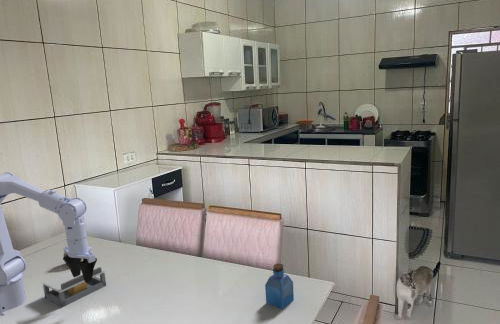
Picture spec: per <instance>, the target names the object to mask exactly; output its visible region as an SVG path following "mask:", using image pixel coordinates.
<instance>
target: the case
mask: <svg viewBox="0 0 500 324" xmlns="http://www.w3.org/2000/svg"><path fill="white" fill-rule="evenodd" d="M86 284H87V289H85V290H83V291H80V292H78V293H76V294H74V295H70V294H68V290H65V291H63V292H61V293H59V292H57V291H55V290H53V289H50V288H49V287H47V286H45V285H43V284H42V286H43V287H42V289H43V294H44V299H46V300H48V301H49V302H51V303H53V304H54V305H57V306H58V307H61V308H64V307H67V306H68V305H71V304H73V303H75V302H76V301H79V300H80V299H83V298H84V297H87V296H89V295H91V294H92V293H94V292H97V291H99V290H101V289H103V288H104V287H106V286H107V280H106V273H105V272H104V273H102V274H100V275H99V277H97V276H96V277H94V278H92V280H91V281H89V282H86Z"/></svg>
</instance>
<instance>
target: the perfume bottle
mask: <svg viewBox="0 0 500 324" xmlns="http://www.w3.org/2000/svg"><path fill="white" fill-rule="evenodd" d="M272 267H273V269H272V273H273V274H272V275H270V276H269V277H268V279H267V281H266V282H265V285H264V286H265V287H264V289H265V304H267V305H270V306H273V307H276V308H279V309H281V310H283V309H284V308H286V307H287V306H288V305H290V304H291V303H292V302H293V301H294V300H295V299H294V297H295V296H294V280H292V278H291V277H290V276H289V275H288V274H287V273H285V269H284V268H285V267H284V264H282V263H274V264H273V266H272Z"/></svg>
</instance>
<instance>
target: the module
mask: <svg viewBox="0 0 500 324" xmlns="http://www.w3.org/2000/svg"><path fill="white" fill-rule="evenodd" d="M85 289H87V284H86V282H83V283H81V284H78V285H76V286H74V287H72V288H70V289H68V294H70V295H74V294H76V293H78V292H80V291H83V290H85Z"/></svg>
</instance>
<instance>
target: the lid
mask: <svg viewBox="0 0 500 324" xmlns="http://www.w3.org/2000/svg"><path fill="white" fill-rule="evenodd" d="M102 273H105V270H103V269H102V267H100V266H99V267H96V266H94V270H93V277H92V278H94V277H97V276H100V274H102ZM83 282H85V281H84V278H83V274H82V271H81V274H80V275H79V276H77V277H73V275H72V273H71V271H70V270H69V271H67V272H65V273H62V274H60V275H57V276H55V277H53V278H51V279H48V280H46V281H44V282H42V286H43V285H45V286H47V287H49V289H50V290H55V291H57V292H59V293H61V292H63V291H65V290H68V289H70V288H72V287H74V286H76V285H78V284H81V283H83Z"/></svg>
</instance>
